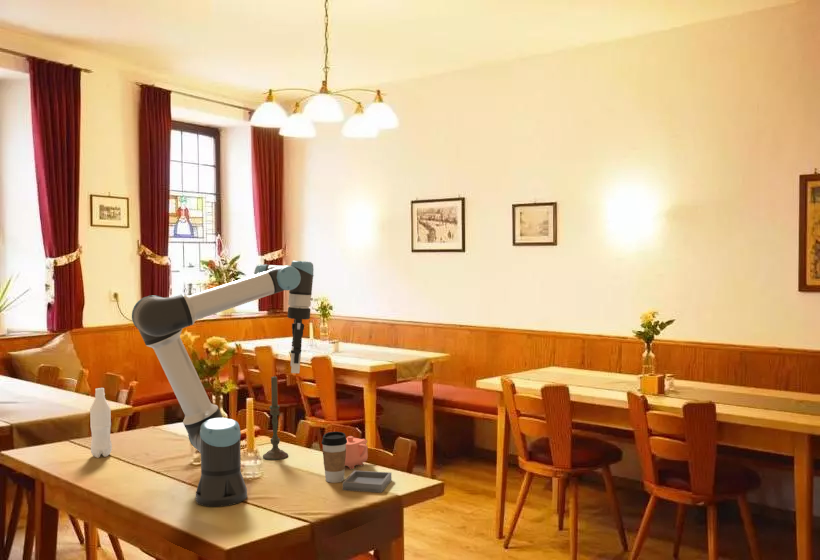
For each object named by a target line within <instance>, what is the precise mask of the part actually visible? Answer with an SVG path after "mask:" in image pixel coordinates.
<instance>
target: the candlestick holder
mask: <svg viewBox="0 0 820 560" xmlns="http://www.w3.org/2000/svg"><path fill="white" fill-rule="evenodd" d="M270 378H271V379H270V384H271V390H270V391H271V395H270V396H271V405H270V406H268V408H269V409H270V411H269V413H270V415H271V416H272V419H271V420H272V421H271V424H272V433H273V435H272V437H271V438H270V444H271V445H272V448H271V449H270V450H267V452H266V453H264V454H263V455H262V458H263V459H264V460H267V461H278V460H279V461H280V460H284V459H287V458H288V457H289V453H287V452H285V450H283V449H281V448H279V444H280V442H281V439H280V437H279V436H278V422H279V421H278V415H279V414H280V407H281V406H280V405H279V404H278V401H279V400H278V395H279V394H278V376H276V375H273V376H271V377H270Z"/></svg>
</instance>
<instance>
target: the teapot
mask: <svg viewBox="0 0 820 560" xmlns="http://www.w3.org/2000/svg"><path fill="white" fill-rule="evenodd" d="M346 439H347V443H346V458H345V467H348V469H349V470H354V469H355V470H356V468H355V466H360V467H362V466H364V463H365V462H367V460H368V447H369V446H368V445H367V443H368V440H367V439H365V438H359V437H354V436H352V435H349V436H346Z"/></svg>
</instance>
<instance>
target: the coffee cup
mask: <svg viewBox="0 0 820 560" xmlns="http://www.w3.org/2000/svg"><path fill="white" fill-rule="evenodd" d="M346 438H347V436H346V433H345V432H342V431H328V432H326V433H323V436H322V440H321V444H322V457H323V459H322V460H323V467H324V477H325V481H326V482H328V483H331V484H332V483H333V484H334V483H336V484H337V483H341V482H343V481H344V480H345V469H346V466H345V458H346V443H347V439H346Z"/></svg>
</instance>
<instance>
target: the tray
mask: <svg viewBox="0 0 820 560" xmlns="http://www.w3.org/2000/svg"><path fill="white" fill-rule="evenodd" d="M391 481H392V472H391V471H390V472H389V471H388V472H387V471H371V470H370V471H369V470H356V469H355V470H354V469H353V471H352V472H351V473H350V474H349V475H347V477H346V478H344V480H343V481H342V490H343V491H351V492H352V491H353V492H366V493H381V494H382V493H383V492H384V491H385V489H386V488H387V487H388V485H389V484H390V483H391Z"/></svg>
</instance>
